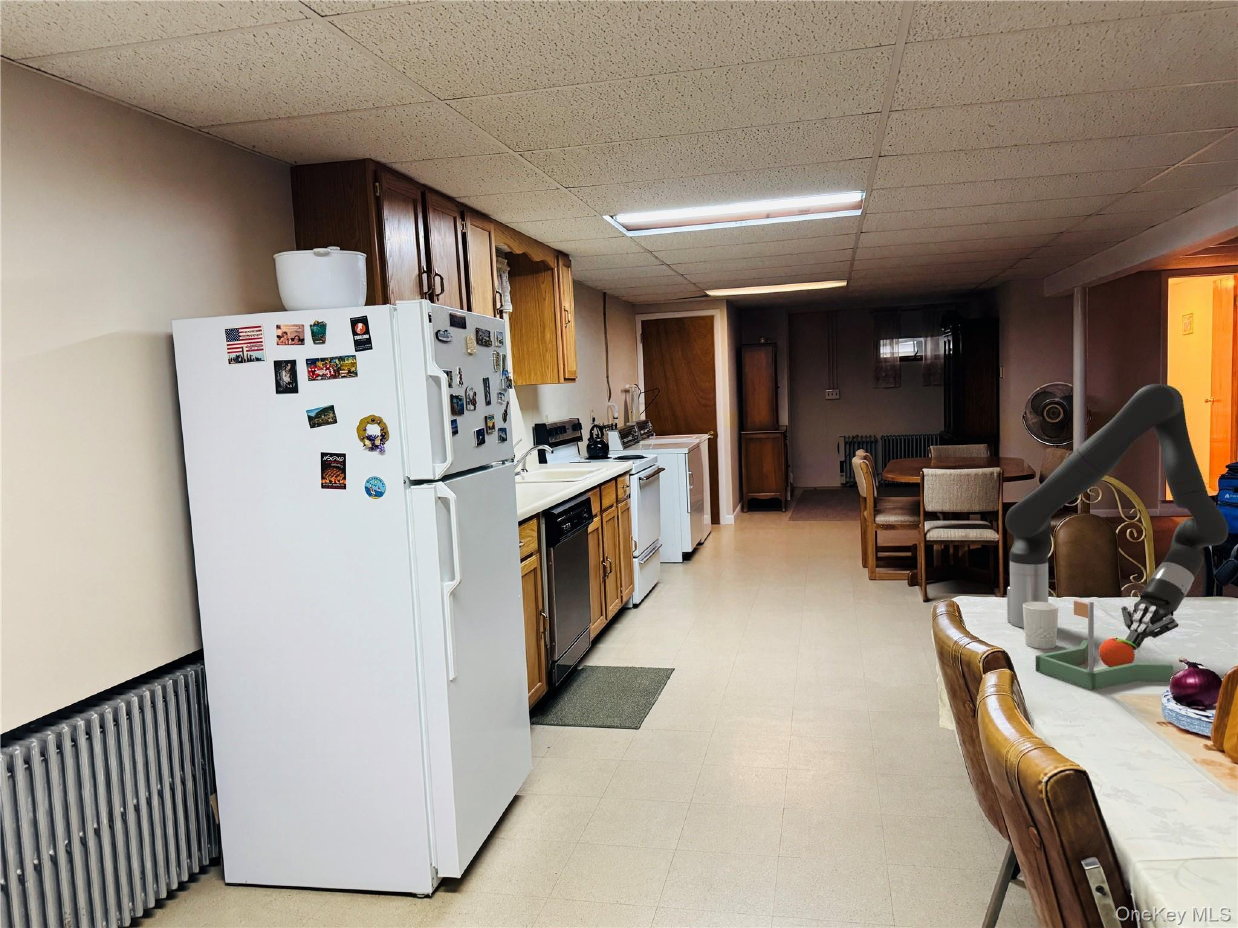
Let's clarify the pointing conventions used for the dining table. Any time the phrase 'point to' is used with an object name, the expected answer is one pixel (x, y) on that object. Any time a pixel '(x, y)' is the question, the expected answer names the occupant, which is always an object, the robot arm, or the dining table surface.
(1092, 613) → the putting stall
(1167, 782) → the dining table surface
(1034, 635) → the white cup
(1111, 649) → the clementine
